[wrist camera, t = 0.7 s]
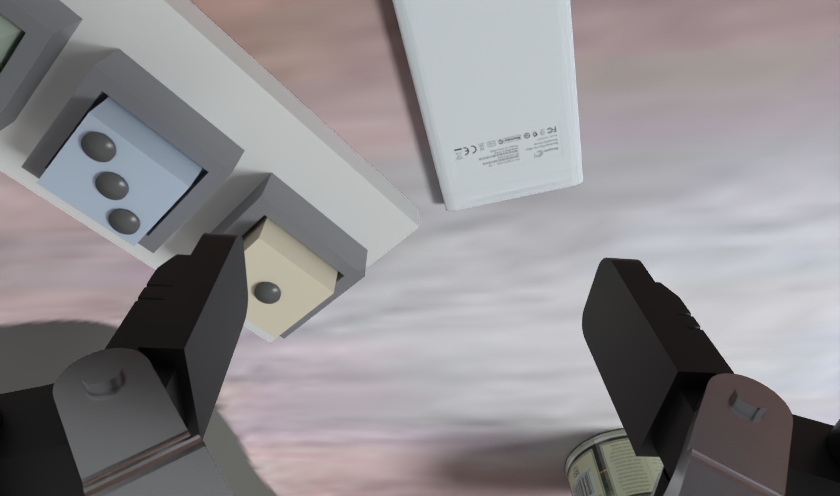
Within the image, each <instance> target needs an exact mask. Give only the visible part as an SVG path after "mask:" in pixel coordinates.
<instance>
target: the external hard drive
mask: <svg viewBox="0 0 840 496" xmlns="http://www.w3.org/2000/svg"><path fill="white" fill-rule="evenodd" d="M392 2H393V5H394V9H395V13H396V17H397V21H398V24H399V28H400V32H401V37H402V41H403V44H404V48H405V52H406V56H407V60H408V64H409V68H410V72H411V76H412V80H413V84H414V87H415V91H416V95H417V99H418V103H419V107H420V111H421V115H422V119H423V123H424V126H425V130H426V134H427V138H428V142H429V146H430V150H431V154H432V158H433V162H434V165H435V169H436V173H437V177H438V181H439V185H440V189H441V192H442V196H443V200H444V204H445V208H446V211H457V210H462V209H466V208H471V207H476V206H480V205H484V204H489V203H494V202H499V201H503V200H508V199H513V198H518V197H523V196H527V195H532V194H536V193H541V192H546V191H551V190H556V189H561V188H565V187H570V186H574V185H577V184H580V183H582V182H583V174H582V162H581V145H580V130H579V116H578V103H577V89H576V75H575V62H574V47H573V33H572V20H571V6H570V0H392Z"/></svg>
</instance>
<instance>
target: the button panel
mask: <svg viewBox="0 0 840 496" xmlns="http://www.w3.org/2000/svg"><path fill="white" fill-rule="evenodd" d="M0 13H1V14H2V15H3V16H4V17H6V18H7V19H8V20H10V21H11V22H12V23H14V24H15V25H16V26H18V27H19V28H20V29H21V30H23V31H24V32H25V34H24V36H23V37H22V39H21V41H20V42H19V44H18V45H17V47H16V49H15V50H14V52H13V53H12V55H11V57H10V58H9V60H8V62H7V63H6V65H5V66H4V68H3V70H2V71H1V73H0V171H1V172H3V173H4V174H6V175H8V176H9V177H11V178H12V179H14V180H15V181H17V182H19V183H20V184H22V185H23V186H25V187H26V188H28V189H30V190H31V191H33V192H34V193H36V194H37V195H39V196H41V197H42V198H44V199H45V200H47V201H48V202H50V203H51V204H53V205H55V206H56V207H58V208H59V209H61V210H62V211H64V212H66V213H67V214H69V215H70V216H72V217H73V218H75V219H77V220H78V221H80V222H81V223H83V224H84V225H86V226H88V227H89V228H91V229H92V230H94V231H95V232H97V233H98V234H100V235H102V236H103V237H105V238H106V239H108V240H109V241H111V242H113V243H114V244H116V245H117V246H119V247H120V248H122V249H124V250H125V251H127V252H128V253H130V254H131V255H133V256H135V257H136V258H138V259H139V260H141V261H142V262H144V263H145V264H147V265H149V266H150V267H152V268H153V269H155V270H156V269H157V268H158V267H159V266H161V265H162V264H163V263H165V262H166V261H168V260H169V259H171V258H172V257H173V256H175V255H176V254H182V255H191V253H192V252H193V250H194V248H195V246H196V245H197V243H198V241H199V239H200V238H201V236H202V235H203V234H204V233H218V234H235V235H241V236H242V237H243V236H244V235H245V234H246V233H247V232H248V231H249V230H250V229H251V228H253V227H254V226H255V225H256V224H257V223H258V222H259V221H260V220H261V219H262V218H263V217H264V216H267V217H268V218H269V219H271V220H272V221H273V222H275V223H276V224H277V225H278V226H280V227H281V228H282V229H284V230H285V231H286V232H288V233H289V234H290V235H292V236H293V237H294V238H296V239H297V240H298V241H299V242H301V243H302V244H303V245H305V246H306V247H307V248H309V249H310V250H311V251H313V252H314V253H315V254H317V255H318V256H319V257H320V258H322V259H323V260H324V261H326V262H327V263H328V264H330V265H331V266H332V267H334V268H335V269H336V270H337V271H338V273H337V278H336V284H335V289H334V293H333V294H332V295H331V296H329V297H328V298H327V299H326V300H324V301H323V302H322V303H320V304H319V305H318V306H317V307H315V308H314V309H313V310H312V311H310V312H309V313H308V314H306V315H305V316H304V317H303V318H301V319H300V320H299V321H297V322H296V323H295V324H294V325H292V326H291V327H290V328H288V329H287V330H286V331H285V332H283V333H282V334H281V335H279V336H281V337H282V338H285V337H287V336H288V335H289V334H291V333H292V332H293V331H294V330H296V329H297V328H298V327H300V326H301V325H302V324H304V323H305V322H306V321H307V320H309V319H310V318H311V317H313V316H314V315H315V314H316V313H318V312H319V311H320V310H322V309H323V308H324V307H326V306H327V305H328V304H329V303H331V302H332V301H333V300H335V299H336V298H337V297H338V296H340V295H341V294H342V293H344V292H345V291H346V290H348V289H349V288H350V287H351V286H353V285H354V284H355V283H357V282H358V281H359V280H361V279H362V278H363V277H364V276H365V269H366V268H367V267H369V266H370V265H371V264H372V263H374V262H375V261H376V260H378V259H379V258H380V257H381V256H383V255H384V254H385V253H387V252H388V251H389V250H390V249H392V248H393V247H394V246H395V245H397V244H398V243H399V242H401V241H402V240H403V239H404V238H406V237H407V236H408V235H410V234H411V233H412V232H413V231H415V230H416V229H417V228H419V209H418V208H417V207H416V206H415V205H414V204H413V203H412V202H411V201H410V200H409V199H407V198H406V197H405V196H404V195H403V194H402V193H401V192H400V191H399V190H398V189H396V188H395V187H394V186H393V185H392V184H391V183H390V182H389V181H388V180H387V179H385V178H384V177H383V176H382V175H381V174H380V173H379V172H378V171H377V170H376V169H374V168H373V167H372V166H371V165H370V164H369V163H368V162H367V161H366V160H365V159H363V158H362V157H361V156H360V155H359V154H358V153H357V152H356V151H355V150H354V149H352V148H351V147H350V146H349V145H348V144H347V143H346V142H345V141H344V140H343V139H341V138H340V137H339V136H338V135H337V134H336V133H335V132H334V131H333V130H332V129H330V128H329V127H328V126H327V125H326V124H325V123H324V122H323V121H322V120H321V119H319V118H318V117H317V116H316V115H315V114H314V113H313V112H312V111H311V110H310V109H308V108H307V107H306V106H305V105H304V104H303V103H302V102H301V101H300V100H299V99H297V98H296V97H295V96H294V95H293V94H292V93H291V92H290V91H289V90H288V89H286V88H285V87H284V86H283V85H282V84H281V83H280V82H279V81H278V80H277V79H275V78H274V77H273V76H272V75H271V74H270V73H269V72H268V71H267V70H266V69H264V68H263V67H262V66H261V65H260V64H259V63H258V62H257V61H256V60H255V59H253V58H252V57H251V56H250V55H249V54H248V53H247V52H246V51H245V50H244V49H242V48H241V47H240V46H239V45H238V44H237V43H236V42H235V41H234V40H233V39H231V38H230V37H229V36H228V35H227V34H226V33H225V32H224V31H223V30H222V29H220V28H219V27H218V26H217V25H216V24H215V23H214V22H213V21H212V20H211V19H209V18H208V17H207V16H206V15H205V14H204V13H203V12H202V11H201V10H200V9H198V8H197V7H196V6H195V5H194V4H193V3H192V2H191V1H190V0H0ZM108 97H111V98H112V99H113V100H115V101H116V102H117V103H119V104H120V105H121V106H122V107H124V108H125V109H126V110H128V111H129V112H130V113H132V114H133V115H134V116H136V117H137V118H138V119H139V120H141V121H142V122H143V123H145V124H146V125H147V126H149V127H150V128H151V129H153V130H154V131H155V132H157V133H158V134H159V135H160V136H162V137H163V138H164V139H166V140H167V141H168V142H170V143H171V144H172V145H174V146H175V147H176V148H178V149H179V150H180V151H181V152H183V153H184V154H185V155H187V156H188V157H189V158H191V159H192V160H193V161H195V162H196V163H197V164H198V165H200V166H201V167H202V170H201V171H200V173H199V174H198V176H197V177H196V179H195V180H194V182H193V183H192V185H191V186H190V187H189V188H188V190H187V191H186V192H185V193H184V194H183V195H182V196H181V197H180V198H179V199H178V200H177V201H176V202H175V203H174V204H173V206H172V207H171V208H170V209H169V210H168V211H167V212H166V213H165V214H164V215H163V216H162V217H161V218H160V219H159V220H158V221H157V223H156V224H155V225H154V226H153V227H152V228H151V229H150V230H149V231H148V232H147V233H146V234H145V235H144V236H143V237H142V239H141V240H140V241H139V242H138V243H137V244H136V245H135V246H133V245H131V244H130V243H128V242H126V241H125V240H123V239H122V238H120V237H119V236H117V235H116V234H114V233H113V232H111V231H109V230H108V229H106V228H105V227H103V226H102V225H100V224H99V223H97V222H95V221H94V220H92V219H91V218H89V217H88V216H86V215H85V214H83V213H82V212H80V211H78V210H77V209H75V208H74V207H72V206H71V205H69V204H68V203H66V202H65V201H63V200H61V199H60V198H58V197H57V196H55V195H54V194H52V193H51V192H49V191H48V190H46V189H44V188H43V187H41V186H40V185H38V184H37V181H38V180H39V179H40V177H41V176H42V175H43V173H44V172H45V171H46V169H47V168H48V167H49V165H50V164H51V163H52V161H53V160H54V158H55V157H56V156H57V154H58V153H59V152H60V150H61V149H62V148H63V146H64V145H65V144H66V142H67V141H68V140H69V138H70V137H71V136H72V134H73V133H74V132H75V130H76V129H77V128H78V126H79V125H80V124H81V122H82V121H83V120H84V118H85V117H86V116H87V114H88V113H89V112H90V111H92V110H93V109H94V108H95V107H97V106H98V105H99V104H100V103H102V102H103V101H104V100H106V99H107V98H108ZM243 326H244V327H246V328H247V329H249V330H250V331H252V332H254V333H255V334H257V335H258V336H260V337H261V338H263V339H265V340H266V341H268V342H269V343H271V342H272V341H274V340H275V339H276V338H275V337H273V336H272V335H270V334H269V333H267V332H266V331H264V330H262V329H261V328H259V327H258V326H256V325H255V324H253V323H252V322H250V321H249V320H247V319H245V322H244V325H243ZM279 336H278V337H279Z"/></svg>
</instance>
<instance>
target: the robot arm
mask: <svg viewBox="0 0 840 496" xmlns="http://www.w3.org/2000/svg"><path fill="white" fill-rule="evenodd" d="M247 307H248V286H247V275H246V265H245V254H244V244H243V239H242V236H241V235H235V234H218V233H204V234H203V235H202V236H201V238H200V239H199V241H198V243H197V245H196V246H195V248H194V250H193V252H192V253H191V255H182V254H176V255H175V256H173V257H172V258H171V259H169V260H168V261H166V262H165V263H163V264H162V265H161V266H159V267H158V268H157V269H156V271H155V272H154V274H153V275H152V277H151V278H150V280H149V282H148V283H147V287H145V288H144V289H143V291H142V292H141V294H140V295H139V297H138V301H136V302H135V303H134V305H133V306H132V308H131V309H130V311H129V312H128V314H127V316H126V317H125V319H124V320H123V322H122V323H121V325H120V326H119V328H118V330H117V331H116V333H115V334H114V336H113V337H112V339H111V340H110V342H109V344H108V345H107V347H106V348H105V350H100V351H97V352H93V353H91V354H89V355H86V356H84V357H82V358H80V359H78V360H76V361H75V362H73V363H72V364H70V365H69V366H68V367H67V368H65V369H64V370H63V371H62V372H61V374H60V375H59V376H58V378H57V379H56V381H55V383H53V384H50V385H45V386H41V387H35V388H30V389H25V390H20V391H15V392H9V393H4V394H0V496H234V494H233V492H232V491H231V489H230V487H229V485H228V484H227V482H226V480H225V478H224V476H223V475H222V473H221V471H220V470H219V468H218V466H217V464H216V462H215V460H214V459H213V457H212V455H211V453H210V452H209V450H208V448H207V446H206V445H205V443H204V441H203V437H204V434H205V431H206V428H207V426H208V423H209V420H210V418H211V415H212V412H213V409H214V406H215V403H216V401H217V398H218V395H219V392H220V389H221V387H222V384H223V381H224V378H225V375H226V372H227V370H228V367H229V364H230V361H231V358H232V356H233V353H234V350H235V347H236V344H237V342H238V339H239V336H240V333H241V330H242V327H243V325H244V322H245V319H246V314H247ZM582 329H583V334H584V338H585V340H586V342H587V345H588V347H589V349H590V352H591V354H592V356H593V358H594V361H595V363H596V365H597V368H598V370H599V372H600V374H601V377H602V379H603V381H604V384H605V386H606V388H607V390H608V393H609V395H610V397H611V400H612V402H613V404H614V406H615V409H616V411H617V413H618V416H619V418H620V420H621V422H622V425H623V427H624V429H625V432H626V434H627V436H628V438H629V441H630V443H631V445H632V448H633V450H634V452H635V454H636V456H641V457H660V459H661V461H662V463H663V467H662V469H661V471H660V473H659V475H658V477H657V479H656V482H655V485H654V488H653V490H652V493H651V496H840V419H839V421H838V422H837V423H836V425H835V426H832V425H829V424H825V423H822V422H818V421H815V420H811V419H807V418H804V417H800V416H797V415H793V414H792V413H791V411H790V409H789V407H788V406H787V405H786V403H785V402H784V401H783V400H782V399H781V398H780V397H779V396H778V395H777V394H776V393H775V392H774V391H772V390H771V389H769V388H768V387H766V386H765V385H763V384H761V383H760V382H757V381H755V380H753V379H751V378H748V377H745V376H742V375H738V374H734V372H733V371H732V370H731V368H730V367H729V366H728V364H727V363H726V361H725V360H724V359H723V357H722V356H721V354H720V353H719V352H718V350H717V349H716V348H715V346H714V345H713V343H712V342H711V341H710V339H709V338H708V336H707V335H706V334H705V332H704V331H703V330H700V325H699V324H698V323H697V321H696V320H695V318H694V317H692V316H691V313H690V311H689V310H688V309H687V307H686V306H685V305H684V303H683V302H682V300H681V299H680V298H679V297H678V296H677V295H676V294H674V293H673V292H672V291H671V290H669V289H668V288H667V287H665V286H664V285H663V284H661V283H659V282H655V281H654V280H653V278H652V277H651V276H650V274H649V273H648V271H647V270H646V268H645V267H644V265H643V264H642V263H641V261H639V260H635V259H618V258H604V259H603V260H602V261H601V262H600V264H599V266H598V269H597V272H596V275H595V278H594V281H593V284H592V287H591V290H590V293H589V296H588V299H587V302H586V305H585V308H584V311H583V317H582Z"/></svg>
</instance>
